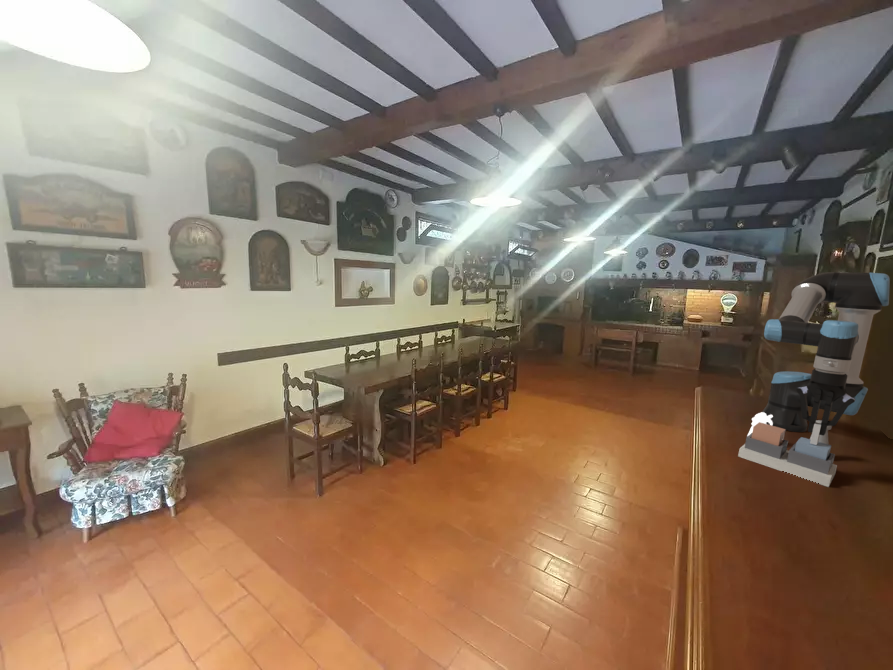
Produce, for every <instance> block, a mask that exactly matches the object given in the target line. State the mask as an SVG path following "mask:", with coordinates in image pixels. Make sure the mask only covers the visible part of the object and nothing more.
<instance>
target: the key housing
mask: <svg viewBox="0 0 893 670" xmlns="http://www.w3.org/2000/svg"><path fill="white" fill-rule="evenodd" d="M751 437H752V433H751V434H750V435H749V436H747V435H746V438H745V443H744V444H743V445H742V446H740V448H739V449H738V450H739V451H738V454H737V457H739V458H742V459H745V460H747V461H750V462H753V463H757V464H759V465H762V466H765V467H769V468H771V469H774V470H777V471H780V472H782V471H784V472H783V473H785V472H787V473H786V474H788V473H790V474H789V475H791V474H793V475H792V476H794V475H796V476H795V477H797V476H798V478H800V477H801V479H803V478H804V479H803V480H806V479H807V481H809V480H810V482H812V481H813V482H812V483H815V482H816V483H815V484H818V483H819V484H818V485H821V486H824V487H827V488H830V485H831V483H832V481H833V479H834V478H835V475H836V472H837V469H838V468H837V467H838V465H837V464H835V463H834V460H835V457H836V453H831V452H830V454H829V458H828V461H827V460H823V459H820V458H817V457H813V456H810V455H807V454H803V453H800V452H797V451H795V447H796V442H795V443H794V444H793V445H792V446H791V448H789V450H788V445H789V444H788V443H789V440H788V439H784V440H783V443H782V444H781V445H780V446H777V445H773V444H770V443H767V442H763V441H760V440H757V439H753V438H751Z"/></svg>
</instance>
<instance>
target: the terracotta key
mask: <svg viewBox="0 0 893 670" xmlns="http://www.w3.org/2000/svg"><path fill="white" fill-rule="evenodd" d="M786 431H787V430H786V429H783V428H779V427H775V426H772V425H768V424H764V423H760V422H759V423H758V424H756V425H755V426H754V427H753V432H752V437H751V438H753V439H757V440H760V441H763V442H767V443H770V444H773V445H777V446H780V445H781V444H782V443H783V440H785V439H784V438H785V435H786V434H785V433H786Z"/></svg>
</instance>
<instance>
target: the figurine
mask: <svg viewBox="0 0 893 670" xmlns="http://www.w3.org/2000/svg"><path fill="white" fill-rule="evenodd" d="M772 417H773V415H768V416H767V415H766V413H764V412H762V411H761V412H758V413H756V414H755V415H754V416H753V417H752V418H751V421H752V422H751V423H750V424H751V427H750V429H749V431H748V433H747V435H746V437H747V436H749V435H750V434H751V433H752V432H753V427H754V426H755V425H756V424H758V423H759V422H760V423H764V424H766V422H769V423H770V425H773V422H772V420H771V418H772Z"/></svg>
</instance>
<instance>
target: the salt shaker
mask: <svg viewBox="0 0 893 670" xmlns="http://www.w3.org/2000/svg"><path fill="white" fill-rule="evenodd" d="M816 422H817V423H821V422H822V419H818V420H816ZM832 427H833V426H827V429H826V433H825V435H824V436H823V435H820V437H819V441H818V442H821V443H825V444H828V445H830V443H829V431H831V430H832ZM811 436H812V434H811V435H810V438H809V439H810V440H811Z"/></svg>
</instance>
